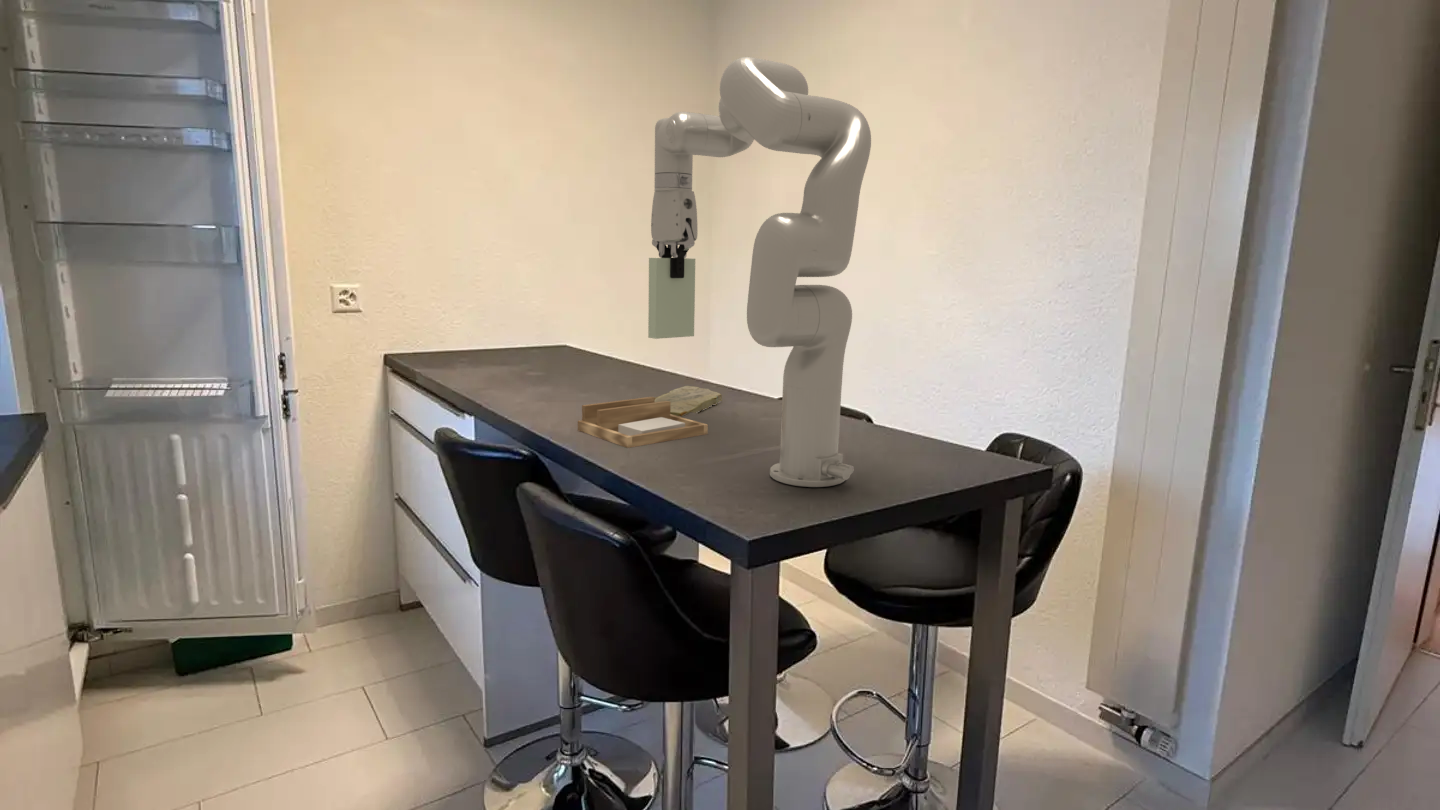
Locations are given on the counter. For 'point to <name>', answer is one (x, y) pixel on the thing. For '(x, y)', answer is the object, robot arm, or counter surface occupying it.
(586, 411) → the tray
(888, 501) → the counter surface
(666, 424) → the upper offcut
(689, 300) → the pale green slab
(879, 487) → the counter surface
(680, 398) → the stone slab
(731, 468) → the counter surface
